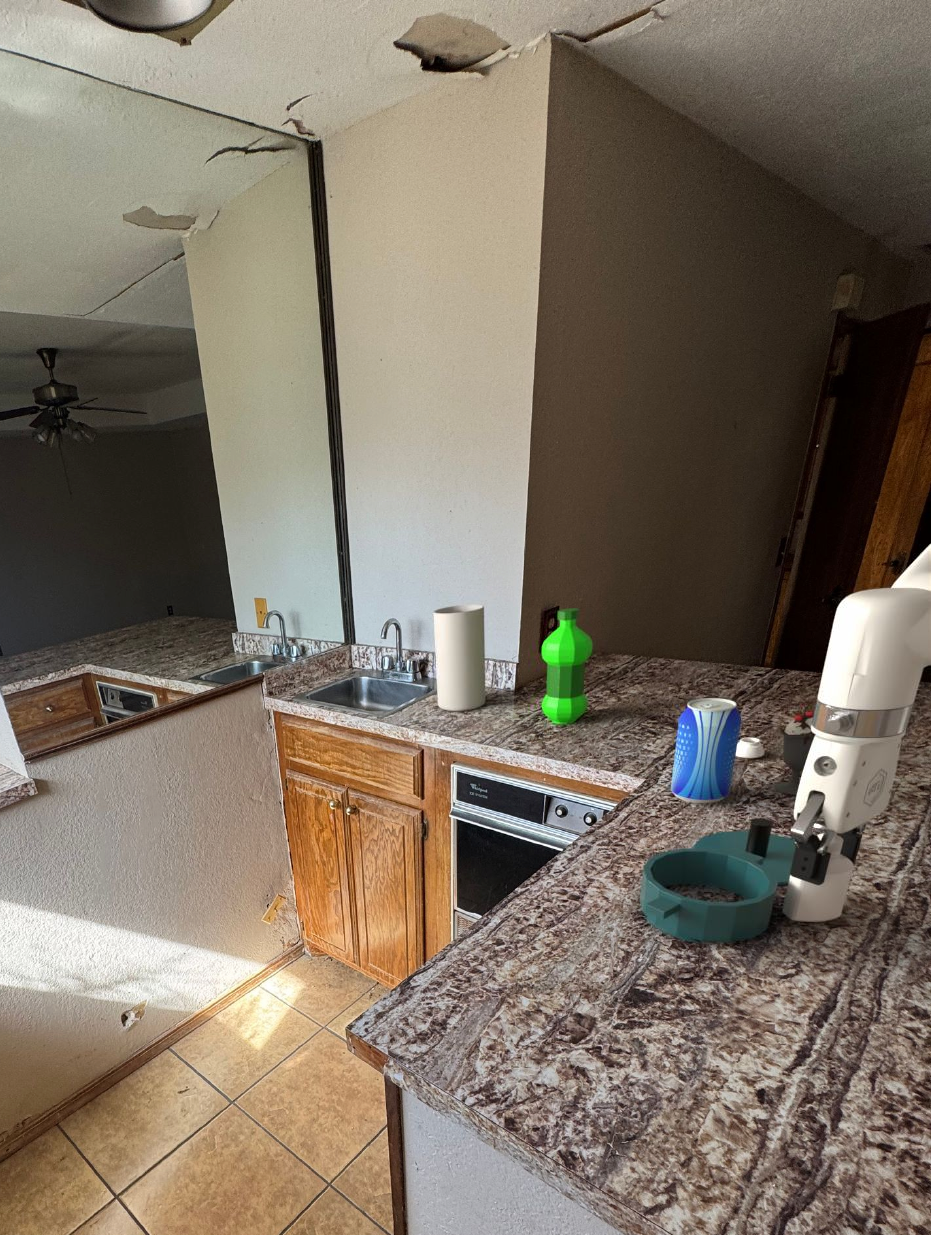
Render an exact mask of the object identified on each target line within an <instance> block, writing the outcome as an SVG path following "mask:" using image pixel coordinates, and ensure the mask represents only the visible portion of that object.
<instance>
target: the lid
mask: <svg viewBox="0 0 931 1235" xmlns="http://www.w3.org/2000/svg"><path fill="white" fill-rule="evenodd" d="M773 824H774V823H773V821H772V820H770V819H769V818H763V817H755V818H752V819H751V820H750V824H749V828H748V829H749V830H728V831H720V832H715V833H711V834H708V835H706V836H703V837H701V838H700V839H698V840H697V841H696V842H695V844H694V845H693V849H710V850H716V851H722V852H728V853H733V854H736V855H738V854H740V853H742V852H744V851H745V852H748V853H751V854H754V855H757V856H760V857H763V858H764V860H763V864H762V865H761V866H763V867H764V868H766V869H768V870H769V871H770V872H771V873H772V875H773V876H774V878H775V879H776V881H777V883H778V884H777V886H788V883H789V879H790V870H791V866H792V861H793V857H794V852H795V848H796V847H795V846H794V844H795V839H791V838H789V837H785V836H783V835H782V836H781V835H777V834H773V833H772V828H773ZM771 833H772V834H771Z"/></svg>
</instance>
